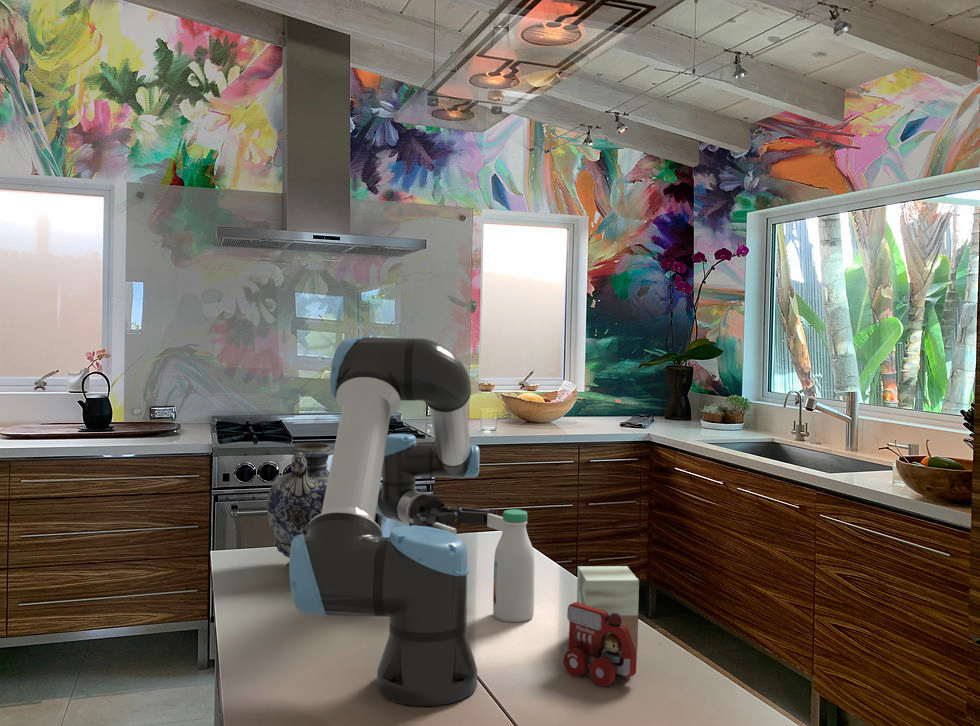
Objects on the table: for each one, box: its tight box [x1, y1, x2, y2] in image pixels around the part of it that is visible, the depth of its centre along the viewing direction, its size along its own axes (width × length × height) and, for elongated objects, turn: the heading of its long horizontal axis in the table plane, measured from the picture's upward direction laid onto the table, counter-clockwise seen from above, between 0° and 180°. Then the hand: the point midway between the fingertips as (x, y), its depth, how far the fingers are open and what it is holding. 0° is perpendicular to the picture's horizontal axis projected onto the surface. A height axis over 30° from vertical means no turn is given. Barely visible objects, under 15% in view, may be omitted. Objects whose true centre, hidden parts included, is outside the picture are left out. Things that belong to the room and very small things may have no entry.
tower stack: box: [576, 565, 640, 651], centre depth 142 cm, size 8×9×12 cm
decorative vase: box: [266, 442, 334, 574], centre depth 183 cm, size 21×19×28 cm
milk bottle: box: [492, 509, 535, 623], centre depth 154 cm, size 8×8×20 cm
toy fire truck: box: [563, 601, 638, 687], centre depth 128 cm, size 7×12×10 cm, turn 47°
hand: (482, 531), depth 162 cm, fingers open, 13 cm apart
